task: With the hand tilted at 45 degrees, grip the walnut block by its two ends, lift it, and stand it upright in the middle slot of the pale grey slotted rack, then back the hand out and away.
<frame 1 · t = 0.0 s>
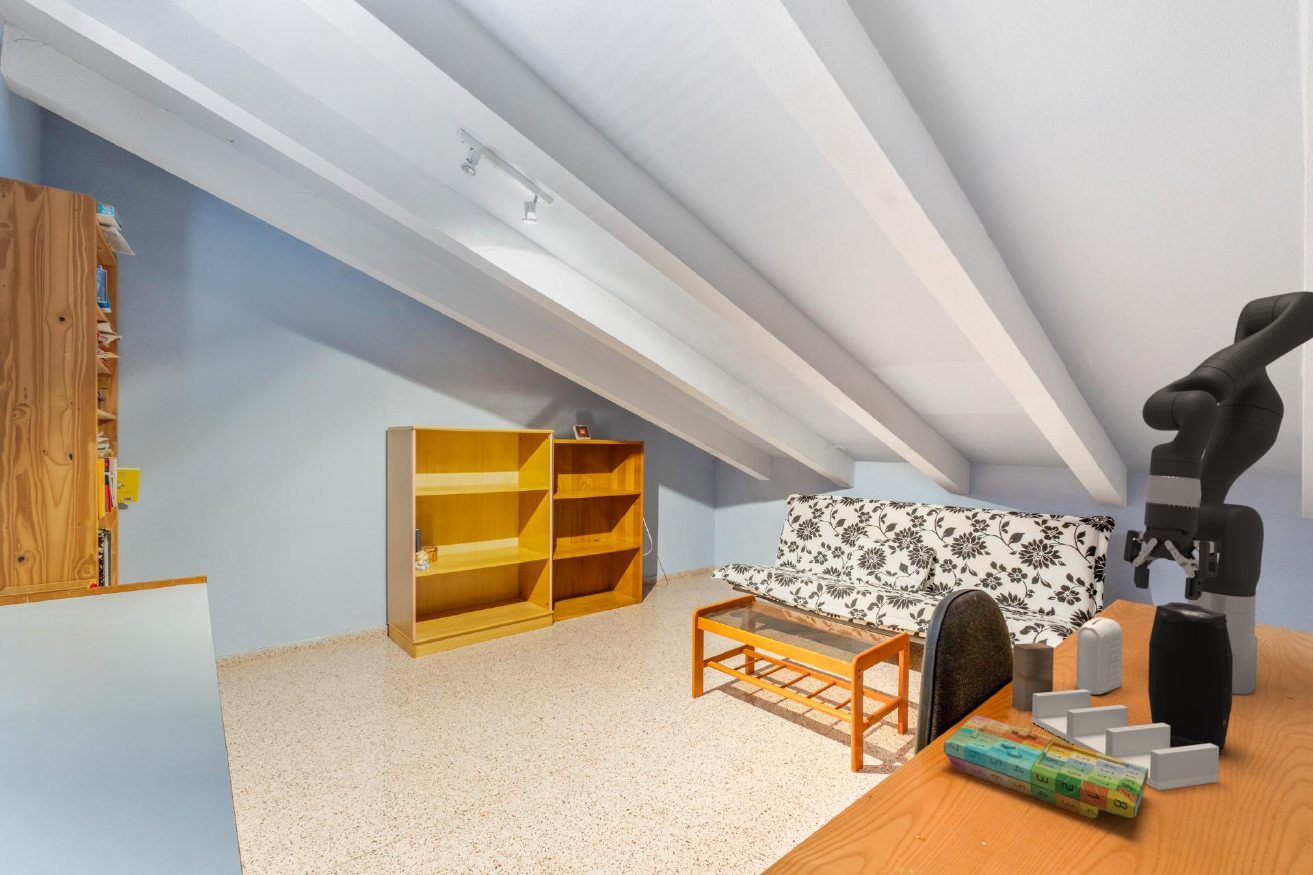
hand: (1165, 593, 111), 17 cm above the table, tool pointing down, fingers open, 8 cm apart
slotted rack: (1116, 749, 88), on the table
portable speaker: (1187, 744, 91), on the table
puzzle game: (1042, 786, 79), on the table
photo printer: (1098, 689, 111), on the table
walnut block: (1032, 707, 102), on the table
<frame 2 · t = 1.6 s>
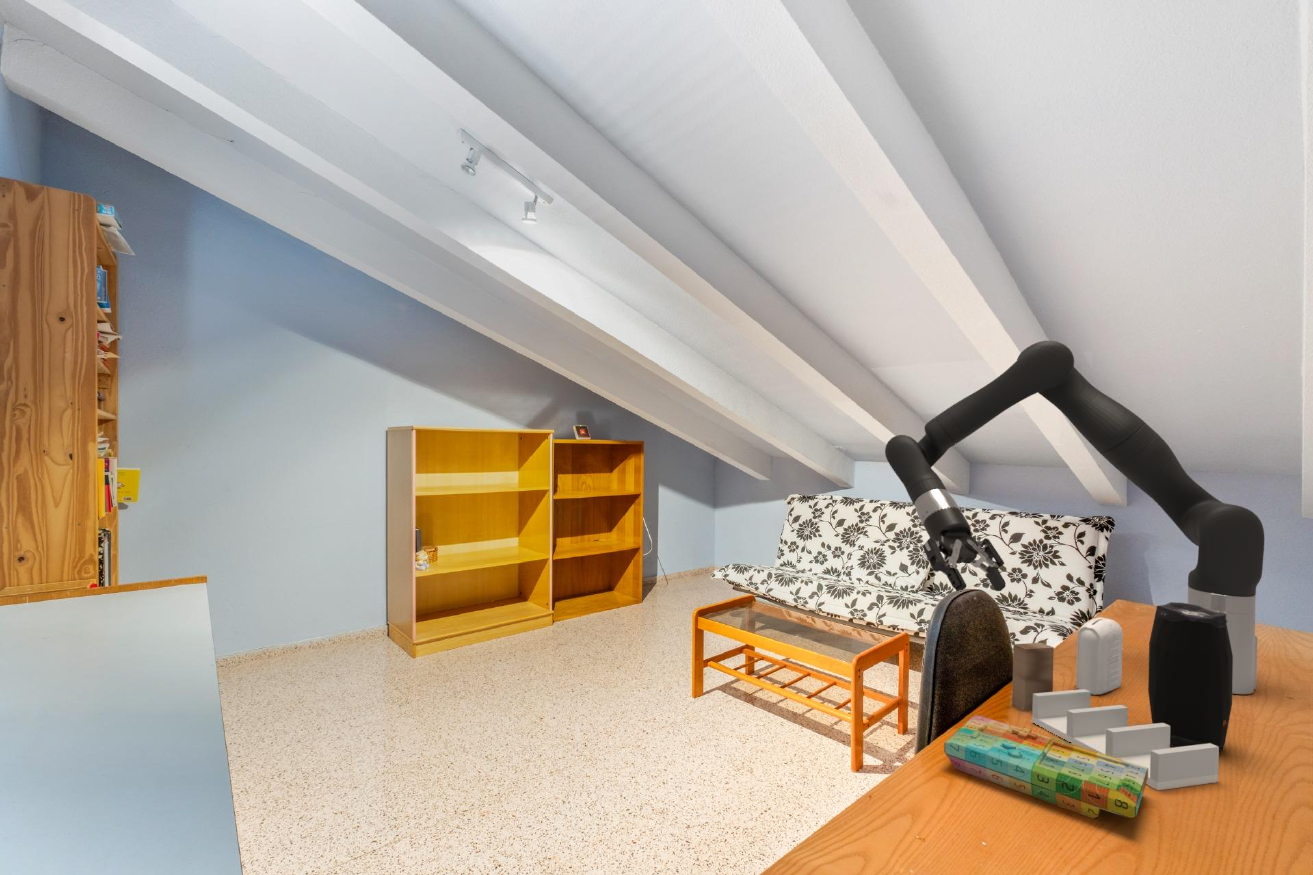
hand: (982, 589, 113), 17 cm above the table, tool tilted 45°, fingers open, 8 cm apart
nothing on the table moved.
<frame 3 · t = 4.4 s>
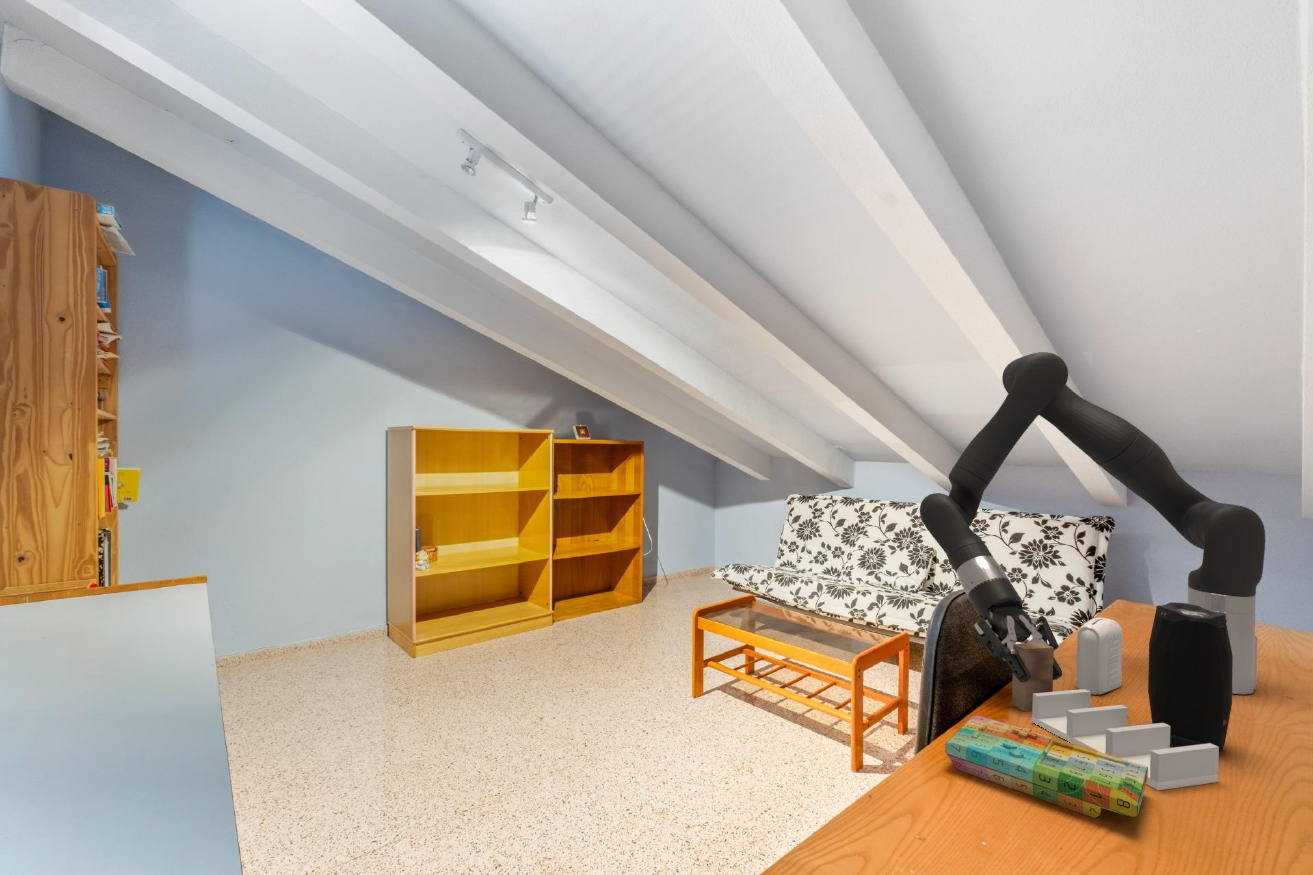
hand: (1042, 678, 101), 5 cm above the table, tool tilted 45°, fingers closed on walnut block, 5 cm apart
walnut block: (1032, 706, 102), on the table, touching gripper
everything else where it was.
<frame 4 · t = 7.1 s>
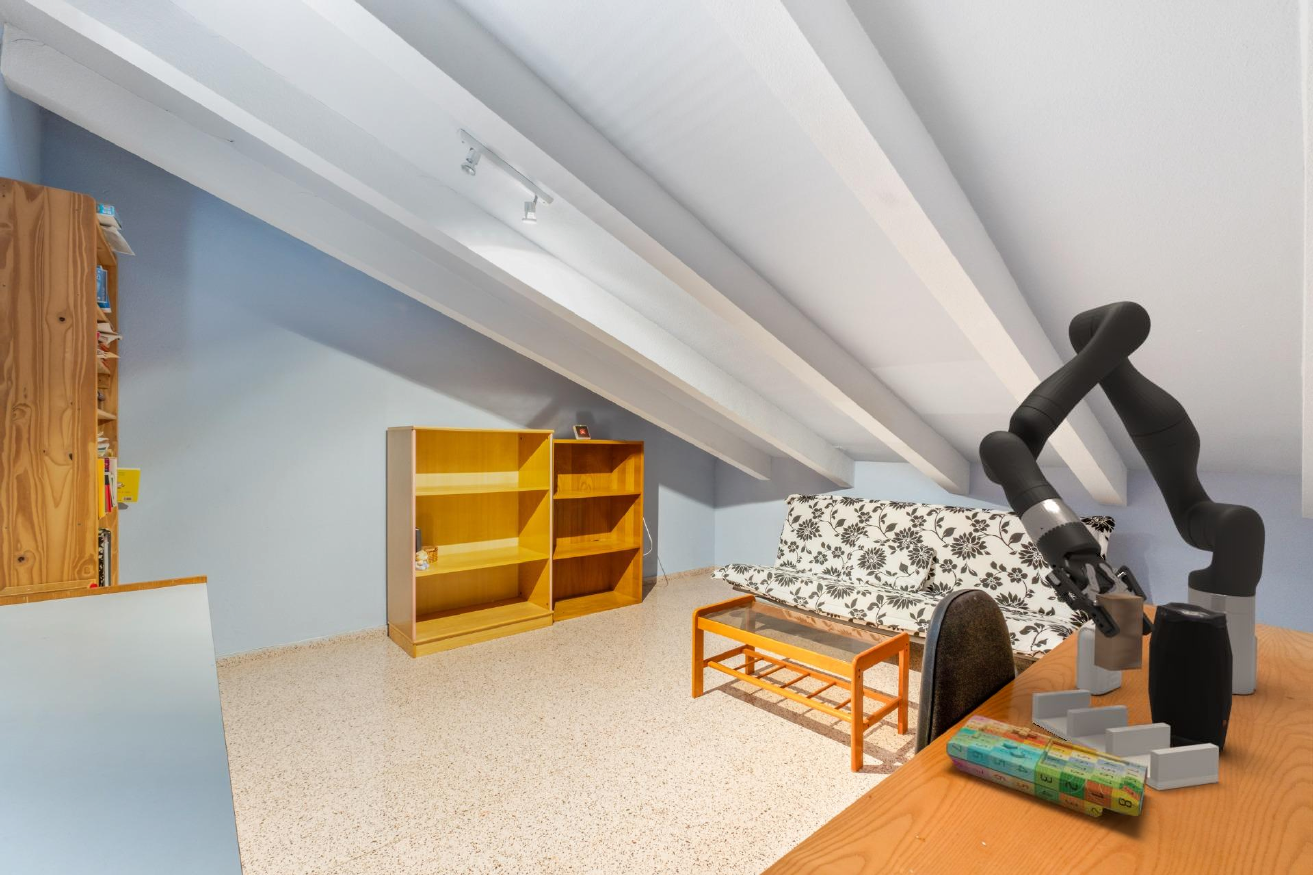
hand: (1131, 633, 87), 17 cm above the table, tool tilted 45°, fingers closed on walnut block, 5 cm apart
walnut block: (1117, 666, 89), point 12 cm above the table, touching gripper
everything else where it was.
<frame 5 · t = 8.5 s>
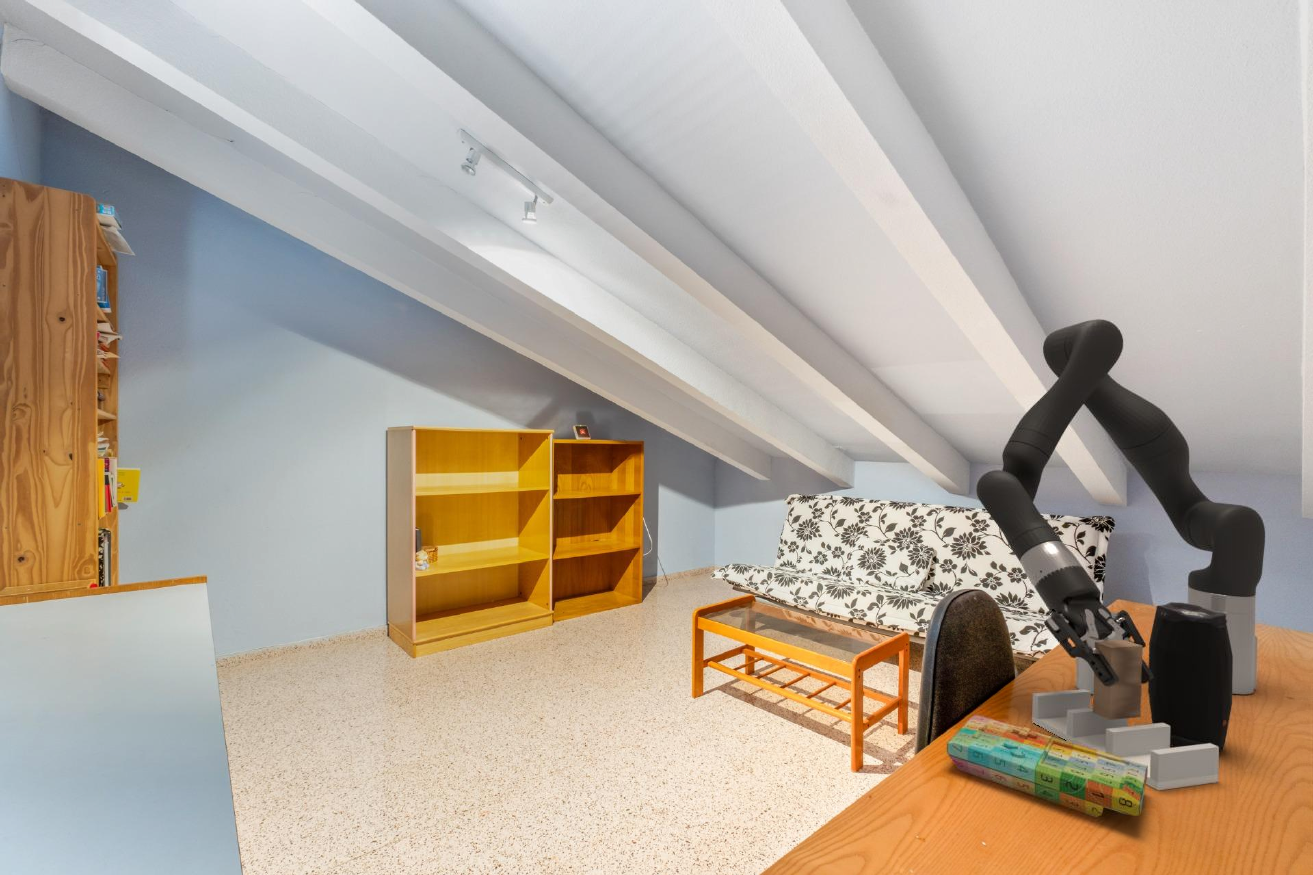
hand: (1130, 682, 87), 10 cm above the table, tool tilted 45°, fingers closed on walnut block, 5 cm apart
walnut block: (1116, 714, 88), point 5 cm above the table, touching gripper
everything else where it was.
when the fingers open (7 cm above the table, at t = 9.8 s): walnut block stays where it is, resting on slotted rack.
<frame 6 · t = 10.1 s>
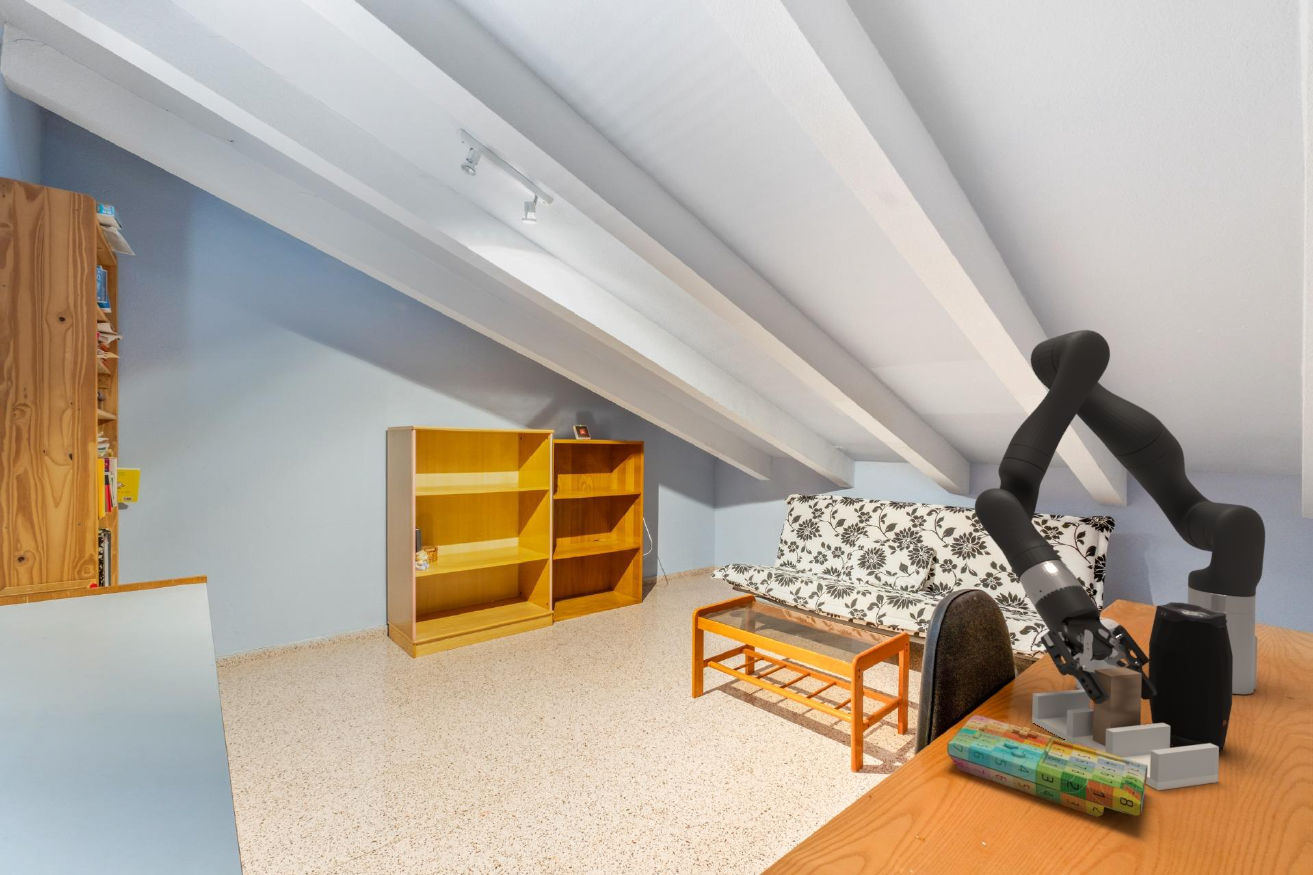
hand: (1127, 699, 87), 8 cm above the table, tool tilted 45°, fingers open, 8 cm apart
walnut block: (1116, 742, 89), point 1 cm above the table, touching slotted rack
everything else where it was.
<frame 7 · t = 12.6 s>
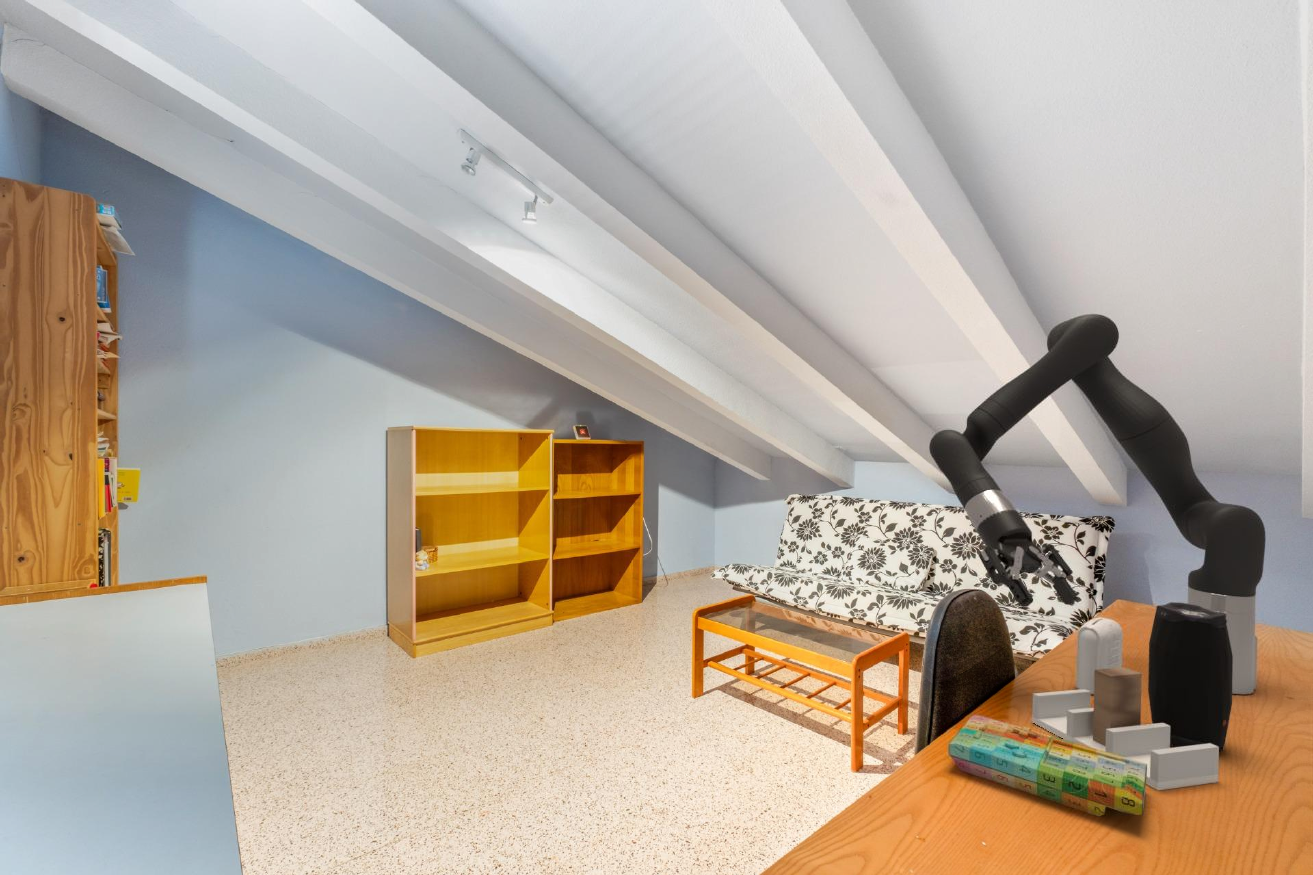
hand: (1050, 603, 100), 18 cm above the table, tool tilted 45°, fingers open, 8 cm apart
nothing on the table moved.
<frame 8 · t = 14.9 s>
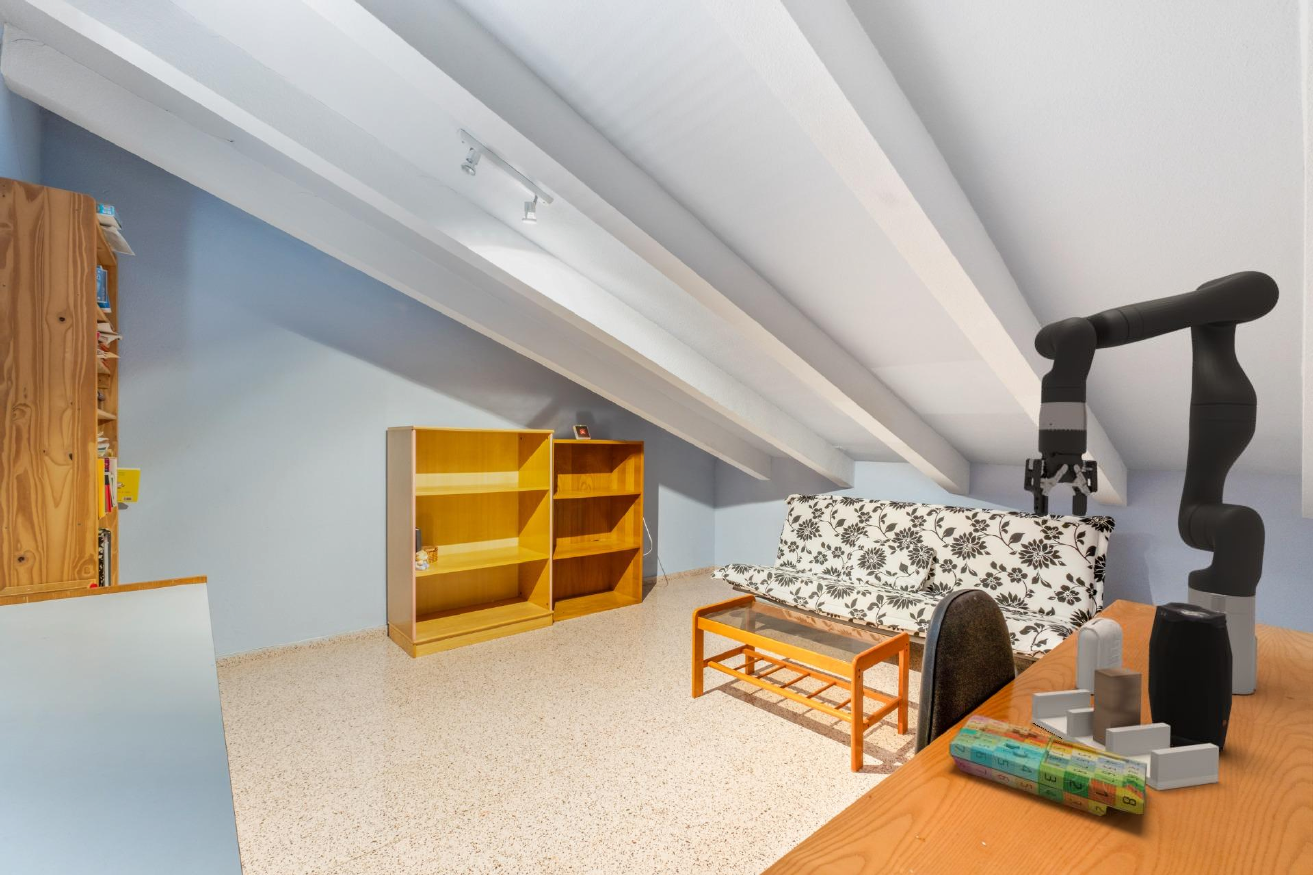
hand: (1060, 515, 116), 30 cm above the table, tool pointing down, fingers open, 8 cm apart
nothing on the table moved.
at the end: walnut block 0.1 cm off-centre on the slotted rack, point 1.0 cm above the slotted rack's base; walnut block tilted 0°; the gripper is holding nothing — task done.
